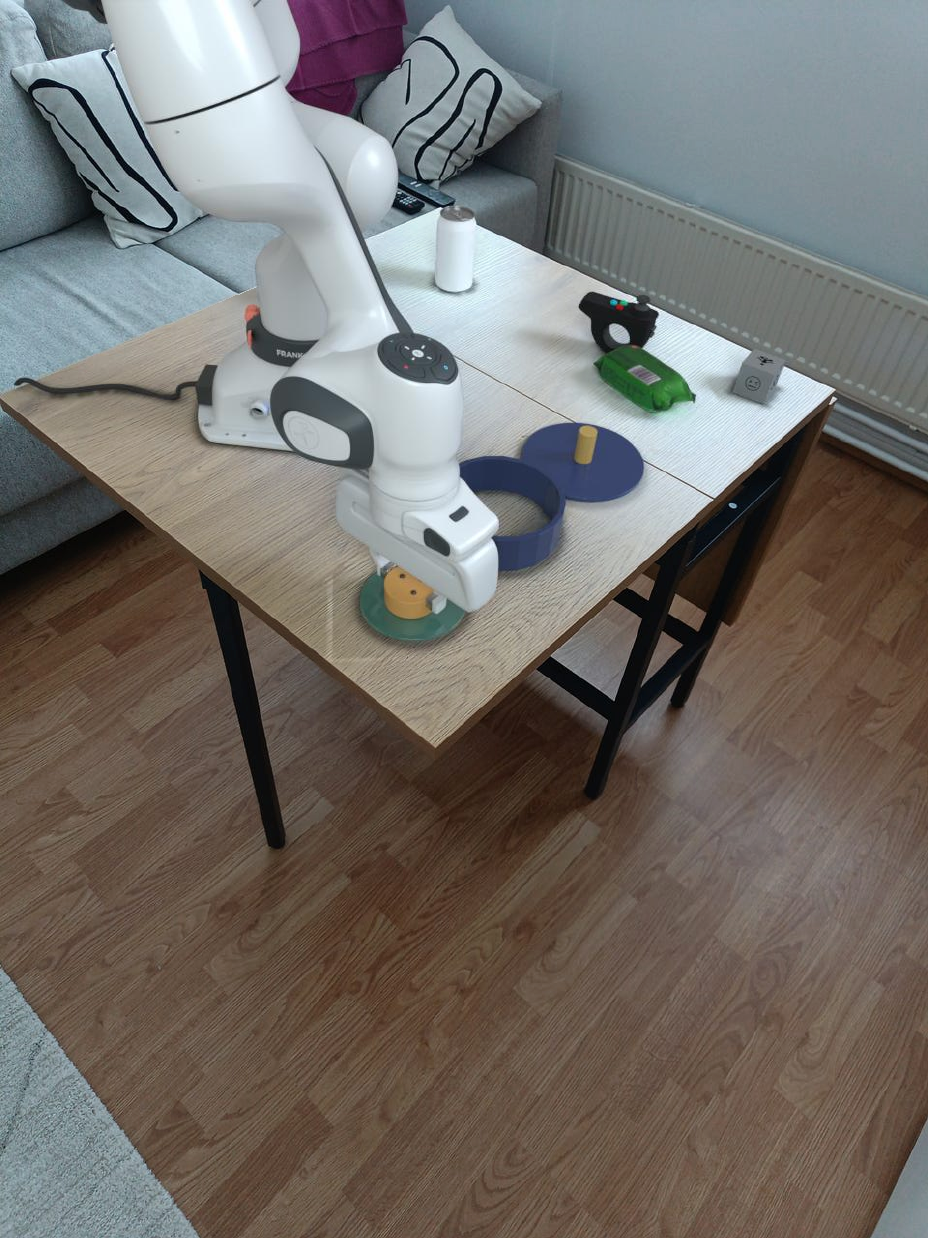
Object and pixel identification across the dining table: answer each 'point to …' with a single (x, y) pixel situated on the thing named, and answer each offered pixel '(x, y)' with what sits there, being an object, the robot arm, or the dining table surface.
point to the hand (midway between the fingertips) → (411, 591)
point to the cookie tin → (528, 484)
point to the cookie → (405, 594)
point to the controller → (619, 319)
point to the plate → (402, 627)
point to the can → (455, 249)
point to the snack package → (643, 378)
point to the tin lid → (586, 460)
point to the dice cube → (758, 376)
